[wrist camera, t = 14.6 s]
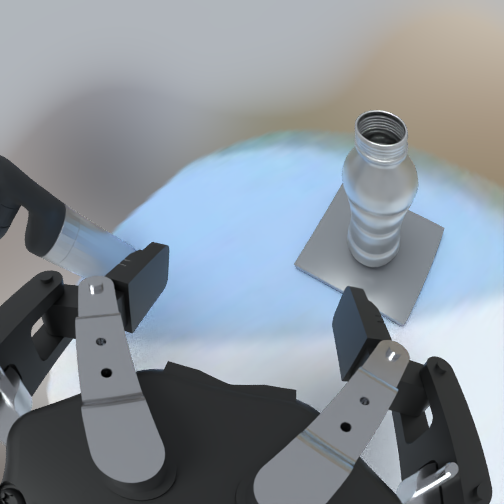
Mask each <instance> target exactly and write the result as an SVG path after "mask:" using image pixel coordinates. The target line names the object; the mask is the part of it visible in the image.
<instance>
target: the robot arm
mask: <svg viewBox="0 0 504 504" xmlns="http://www.w3.org/2000/svg"><path fill="white" fill-rule="evenodd" d="M21 205H22V206H23V207H25V208H26V209H27V210H28V211H29V217H28V223H27V227H26V233H25V246H26V248H27V249H28V251H29V252H31V253H33V254H35V255H37V256H39V257H41V258H43V259H45V260H47V261H49V262H51V263H53V264H55V265H58V266H60V267H62V268H64V269H66V270H68V271H70V272H73V273H75V274H77V275H79V276H82V277H84V278H86V279H84V280H82V281H81V282H80V284H79V286H76V285H67V284H64V283H63V278H62V275H61V274H60V273H59V272H57V271H44V272H41V273H39V274H37V275H36V276H35V277H33V278H32V279H31V280H30V281H29V282H27V283H26V284H25V285H24V286H23V287H21V288H20V289H19V290H18V291H17V292H16V293H15V294H13V295H12V296H11V297H10V298H9V299H8V300H7V301H6V302H4V303H3V304H2V305H1V306H0V442H1V443H2V444H3V445H4V446H6V464H5V471H4V476H3V479H2V482H1V484H0V504H489V503H490V501H491V498H492V486H491V481H490V477H489V472H488V468H487V464H486V460H485V456H484V453H483V449H482V446H481V442H480V439H479V436H478V433H477V430H476V427H475V424H474V421H473V418H472V415H471V413H470V410H469V407H468V405H467V402H466V400H465V397H464V395H463V392H462V390H461V387H460V385H459V383H458V380H457V378H456V376H455V373H454V371H453V369H452V367H451V366H450V365H449V363H448V362H446V361H445V360H444V359H442V358H439V357H430V358H429V359H428V360H427V361H426V363H425V364H424V365H423V364H420V363H417V362H414V361H411V360H410V357H409V353H408V352H407V350H406V349H405V348H404V347H403V346H402V345H401V344H399V343H397V342H395V341H392V340H391V337H390V335H389V332H388V330H387V328H386V325H385V324H384V321H383V318H382V317H381V314H380V312H379V309H378V308H377V307H376V306H375V305H374V304H373V303H372V302H371V301H369V300H368V298H367V296H366V294H365V291H364V289H361V288H357V287H352V286H347V287H346V288H345V290H344V292H343V295H342V297H341V299H340V302H339V304H338V307H337V309H336V311H335V314H334V317H333V323H332V327H333V333H334V338H335V343H336V349H337V355H338V361H339V367H340V373H341V379H342V381H348V383H347V384H346V385H345V386H344V387H343V389H342V390H341V391H340V392H339V393H338V394H337V396H336V397H335V398H334V399H333V400H332V401H331V402H330V404H329V405H328V406H327V407H326V408H325V409H324V410H323V411H322V412H321V414H320V413H319V412H318V411H317V410H315V409H314V408H313V407H311V406H309V405H307V404H305V403H303V402H301V401H299V400H296V390H293V389H286V388H280V387H274V386H268V385H230V384H227V383H225V382H223V381H220V380H218V379H216V378H214V377H212V376H210V375H208V374H206V373H204V372H202V371H200V370H197V369H193V368H189V367H186V366H182V365H179V364H176V363H172V362H169V361H168V362H167V364H166V367H165V369H164V370H162V369H149V370H142V371H137V372H135V368H134V365H133V362H132V358H131V354H130V351H129V347H128V343H127V339H126V335H125V331H127V332H130V333H133V332H134V331H135V329H136V328H137V326H138V325H139V324H140V322H141V321H142V319H143V318H144V316H145V315H146V314H147V312H148V311H149V309H150V308H151V307H152V305H153V304H154V303H155V301H156V300H157V298H158V297H159V296H160V294H161V293H162V292H163V290H164V289H165V287H166V284H167V280H168V265H169V246H168V245H164V244H159V243H155V242H152V243H150V244H149V245H148V246H147V247H146V248H145V249H143V250H138V251H135V249H134V248H133V247H132V246H130V245H129V244H127V243H125V242H124V241H122V240H120V239H119V238H117V237H116V236H114V235H112V234H111V233H109V232H108V231H106V230H104V229H103V228H101V227H100V226H98V225H96V224H95V223H93V222H92V221H90V220H89V219H87V218H85V217H84V216H82V215H81V214H79V213H78V212H76V211H75V210H73V209H72V208H70V207H69V206H67V205H66V204H64V203H63V202H61V201H60V200H58V199H57V198H56V197H54V196H53V195H52V194H50V193H49V192H48V191H46V190H45V189H44V188H42V187H41V186H39V185H38V184H37V183H36V182H34V181H33V180H32V179H30V178H29V177H28V176H27V175H26V174H25V173H24V172H22V171H21V170H20V169H19V168H18V167H17V166H15V165H14V164H13V163H12V162H11V161H9V160H8V159H6V158H5V157H3V156H1V155H0V239H1V238H2V237H3V236H4V235H5V233H6V232H7V230H8V229H9V227H10V225H11V223H12V221H13V219H14V217H15V215H16V214H17V212H18V210H19V208H20V206H21ZM40 317H42V320H43V323H44V324H43V325H42V326H41V328H40V329H39V330H38V331H37V332H36V333H35V334H34V335H33V337H32V338H31V330H32V327H33V325H34V324H35V323H36V322H37V321H38V319H40ZM73 338H74V339H76V349H77V362H78V372H79V381H80V389H81V393H80V394H78V395H75V396H72V397H70V398H67V399H64V400H61V401H59V402H56V403H53V404H50V405H47V406H44V407H41V408H38V409H35V410H32V411H31V408H32V398H31V397H32V396H33V394H34V393H35V391H36V390H37V388H38V386H39V385H40V384H41V382H42V381H43V379H44V378H45V376H46V375H47V373H48V372H49V371H50V369H51V368H52V366H53V365H54V363H55V362H56V361H57V359H58V358H59V357H60V355H61V354H62V352H63V351H64V350H65V348H66V347H67V346H68V344H69V343H70V342H71V340H72V339H73ZM429 406H430V408H431V411H432V415H433V421H432V424H431V426H430V427H429V426H428V422H427V418H426V415H425V410H426V409H427V408H428V407H429ZM388 410H392V415H393V421H394V427H395V433H396V439H397V445H398V452H399V460H400V468H401V478H402V482H401V483H400V485H399V486H398V489H397V493H396V494H395V493H394V492H393V491H392V490H391V489H390V488H389V487H388V486H387V485H386V484H385V483H384V482H383V481H382V480H381V479H380V478H379V477H378V476H377V475H376V473H375V472H374V471H373V470H372V469H371V468H370V467H369V466H368V465H367V464H366V463H365V462H364V461H363V460H362V459H361V458H360V455H361V453H362V452H363V450H364V449H365V447H366V446H367V444H368V443H369V441H370V440H371V438H372V436H373V435H374V433H375V432H376V430H377V428H378V427H379V425H380V423H381V422H382V420H383V418H384V416H385V415H386V413H387V411H388Z"/></svg>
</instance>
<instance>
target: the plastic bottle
mask: <svg viewBox="0 0 504 504" xmlns="http://www.w3.org/2000/svg"><path fill="white" fill-rule="evenodd" d="M407 139H408V132H407V127H406V125H405V123H404V122H403V121H402V120H401V119H400V118H399V117H397V116H396V115H394V114H392V113H389V112H387V111H382V110H371V111H367V112H364V113H362V114H361V115H360V116H358V118H357V119H356V122H355V147H354V148H353V149H352V150H351V151H350V152H349V154H348V155H347V157H346V159H345V162H344V165H343V168H342V181H343V185H344V189H345V191H346V194H347V197H348V200H349V203H350V209H351V222H350V225H349V228H348V233H347V243H348V247H349V249H350V251H351V253H352V255H353V256H354V258H355V259H356V260H357V261H358V262H360V263H361V264H363V265H365V266H368V267H380V266H383V265H386V264H387V263H388V262H390V261H391V260H392V259H393V258H394V257H395V255H396V254H397V252H398V249H399V246H400V227H401V223H402V221H403V218H404V216H405V214H406V212H407V211H408V209H409V207H410V206H411V204H412V202H413V200H414V198H415V196H416V193H417V190H418V176H417V171H416V168H415V165H414V163H413V161H412V160H411V158H410V157H409V155H408V154H407V152H408V143H407Z"/></svg>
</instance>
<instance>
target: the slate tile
mask: <svg viewBox="0 0 504 504" xmlns="http://www.w3.org/2000/svg"><path fill="white" fill-rule="evenodd" d="M350 222H351V209H350V203H349V200H348V197H347V194H346V191H345V189H344V185H343V183H342V185H341V187H340V189H339V190H338V192H337V194H336V195H335V197H334V199H333V201H332V202H331V204H330V206H329V207H328V209H327V211H326V212H325V214H324V216H323V217H322V219H321V221H320V222H319V224H318V226H317V227H316V229H315V231H314V232H313V234H312V236H311V237H310V239H309V241H308V242H307V244H306V245H305V247H304V249H303V250H302V252H301V254H300V255H299V257H298V258H297V260H296V262H295V263H294V265H295V267H296V268H297V269H299V270H301V271H302V272H304V273H306V274H308V275H310V276H312V277H313V278H315V279H317V280H319V281H321V282H322V283H324V284H326V285H328V286H330V287H332V288H333V289H335V290H337V291H339V292H341V293H343V292H344V290H345V288H346V287H347V286H352V287H357V288H361V289H364V291H365V294H366V296H367V298H368V300H369V301H371V302H372V303H373V304H374V305H375V306H376V307H377V308H378V309H379V312H380V314H381V315H382V316H384V317H386V318H388V319H390V320H391V321H393V322H395V323H397V324H399V325H400V326H403V325H404V324H405V322H406V321H407V319H408V317H409V315H410V312H411V310H412V308H413V306H414V304H415V302H416V300H417V298H418V295H419V293H420V291H421V289H422V286H423V284H424V282H425V279H426V277H427V275H428V272H429V270H430V267H431V265H432V262H433V259H434V257H435V254H436V251H437V249H438V246H439V243H440V240H441V237H442V234H443V231H444V228H443V227H441V226H440V225H438V224H436V223H434V222H432V221H430V220H428V219H426V218H424V217H422V216H420V215H418V214H415V213H413V212H411V211H409V210H408V211H407V212H406V214H405V216H404V218H403V221H402V223H401V227H400V246H399V249H398V252H397V254H396V255H395V257H394V258H393V259H392V260H391V261H390V262H388V263H387V264H386V265H383V266H380V267H368V266H365V265H363V264H361V263H360V262H358V261H357V260H356V259H355V258H354V256H353V255H352V253H351V251H350V249H349V247H348V243H347V233H348V228H349V225H350Z"/></svg>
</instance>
